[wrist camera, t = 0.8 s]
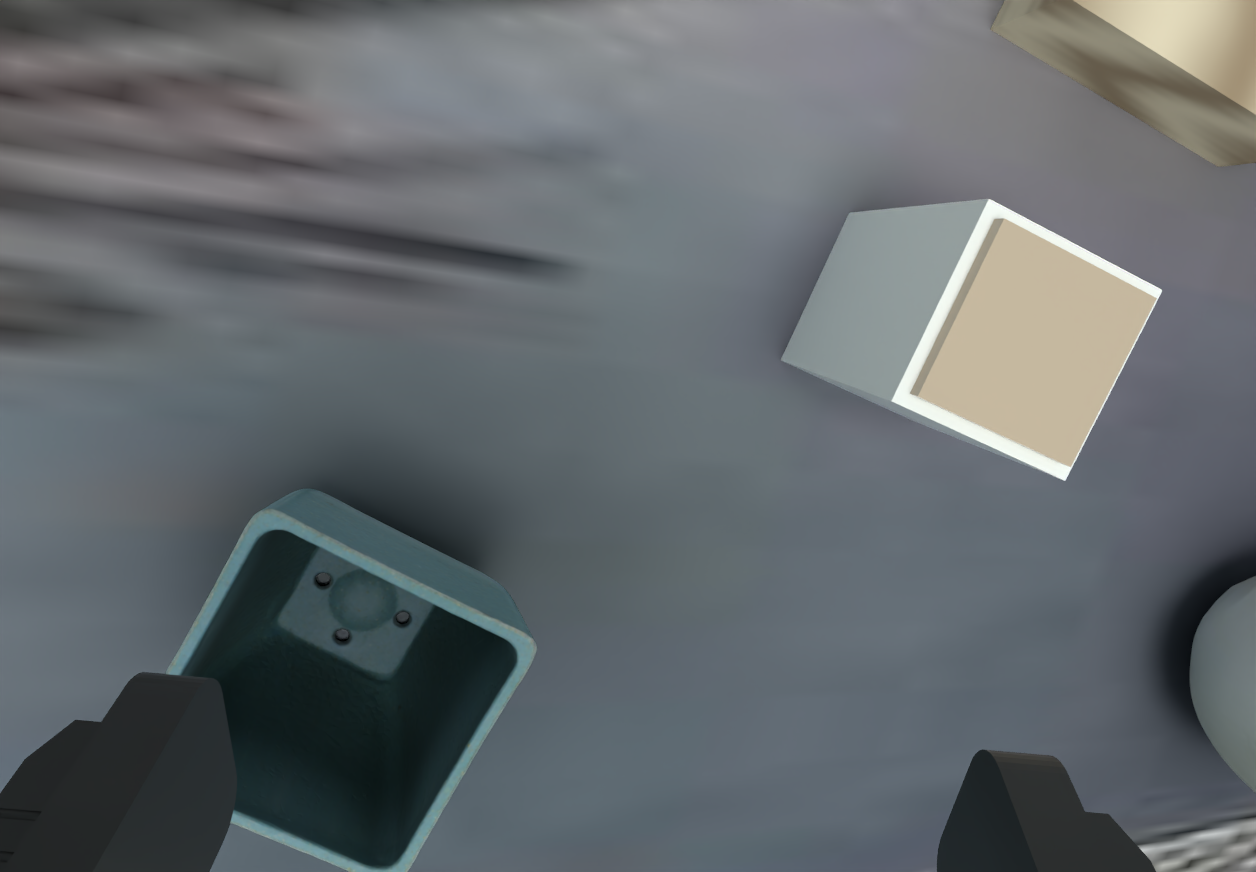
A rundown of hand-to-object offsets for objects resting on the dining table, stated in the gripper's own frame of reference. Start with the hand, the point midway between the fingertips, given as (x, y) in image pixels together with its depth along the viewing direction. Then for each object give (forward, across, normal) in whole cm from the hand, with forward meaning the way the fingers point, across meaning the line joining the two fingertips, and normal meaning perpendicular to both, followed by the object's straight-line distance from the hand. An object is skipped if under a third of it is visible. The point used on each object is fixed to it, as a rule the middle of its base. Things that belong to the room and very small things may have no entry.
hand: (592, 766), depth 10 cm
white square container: (+27, -10, +6) cm, 29 cm away
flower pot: (+20, +9, +16) cm, 27 cm away
